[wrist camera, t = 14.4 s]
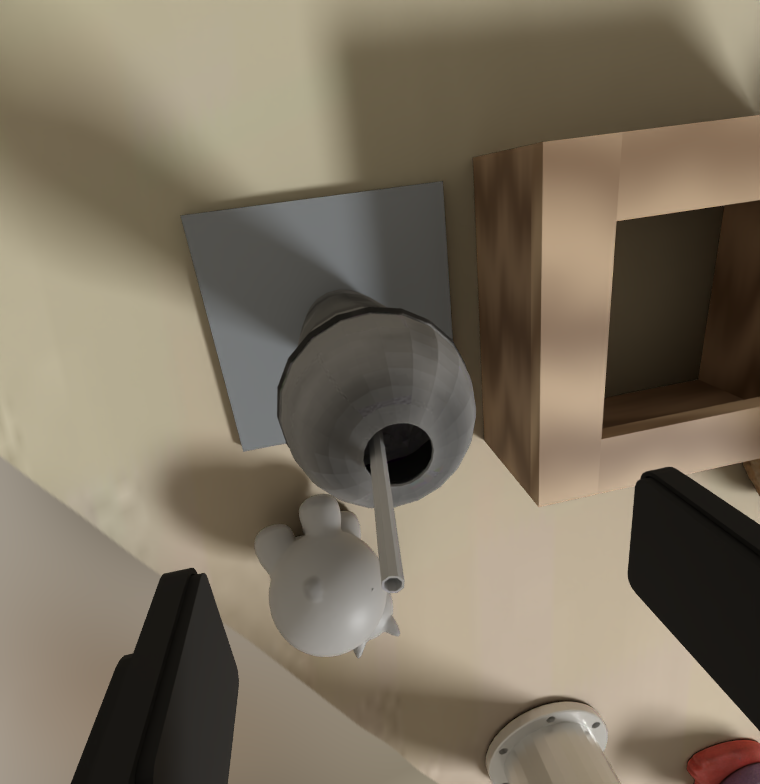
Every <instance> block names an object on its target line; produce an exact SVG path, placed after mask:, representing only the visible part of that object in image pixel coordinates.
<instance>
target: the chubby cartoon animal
mask: <svg viewBox="0 0 760 784" xmlns="http://www.w3.org/2000/svg"><path fill="white" fill-rule="evenodd" d="M299 518H300V522H301V524H302V527H303V533H304V534H305V535H304V536H298V537H294V534H293V532H292V530H291V529H290V527H288V526H287V525H284V524H276V525H271V526H268V527H266V528H264V529H262V530H261V531H260V532H259V533H258V534H257V536H256V538H255V552H256V555H257V557H258V559H259V561H260V563H261V565H262V566H263V567H264V569H265V570H266V571H267V572H268V574H269V575H270V578H271V582H270V588H269V605H270V611H271V615H272V618H273V620H274V623H275V625H276V627H277V629H278V630H279V632H280V633H281V635H282V636H283V637H284V638H285V639H286V640H287V641H288V642H289V643H290V644H291V645H292V646H293V647H295V648H296V649H298V650H300V651H302V652H304V653H307V654H309V655H314V656H319V657H332V656H338V655H341V654H344V653H347V652H349V651H351V650H354V653H355V655H356V657H357V658H360V657H361V655H362V653H363V650H364V647H365V644H366V643H367V641H369V640H371V639H374V638H376V637H378V636H379V635H380V634H382V633H383V632H387V633H389V634H391V635H394V636H399V635H400V631H399V628H398V625H397V623H396V621H395V619H394V618H393V616H392V614H393V601H392V597H391V594H390V593H387V592H386V591H385V590H383V589H382V585H381V574H380V564H379V559H378V557H377V555H376V554H375V553H374V551H373V550H372V549H371V548H370V547H369V546H368V545H367V544H366V543H365V542H364V541H362V540H361V531H360V524H359V521H358V518H357V517H356V515H355V514H354V513H353V512H350V511H340V508H339V505H338V502H337V500H336V499H335V498H334V497H333V496H331V495H327V494H320V495H315V496H311V497H309V498H308V499H306V500H305V501H304V502H303V503H302V504H301V506H300V508H299Z"/></svg>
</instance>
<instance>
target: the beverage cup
mask: <svg viewBox="0 0 760 784" xmlns="http://www.w3.org/2000/svg"><path fill="white" fill-rule="evenodd" d="M277 418H278V421H279V424H280V427H281V429H282V432H283V435H284V438H285V441H286V444H287V445H288V447H289V448H290V451H291V453H292V455H293V457H294V459H295V461H296V462H297V463H298V465H299V466H300V467H301V468H302V469H303V471H304V472H305V473H306V474H307V476H308V477H309V478H310V479H311V481H312V482H313V483H315V484H316V485H317V486H318V487H320V488H321V489H323V490H324V491H326V492H328V493H329V494H331V495H333V496H334V497H336V498H337V499H339V500H341V501H344V502H347V503H351V504H355V505H359V506H363V507H367V508H374V510H375V521H376V532H377V542H378V553H379V564H380V574H381V585H382V589H383V590H385V591H386V592H387V593H397V592H399V591H400V590H401V589H403V588H404V575H403V568H402V562H401V555H400V548H399V541H398V534H397V527H396V520H395V514H394V507H397V506H401V505H404V504H407V503H411V502H414V501H417V500H420V499H421V498H423V497H425V496H426V495H428V494H429V493H431V492H433V491H434V490H436V489H438V488H439V487H441V486H442V485H443V484H444V483H445V481H446V480H447V479H448V478H449V477H450V476H451V475H452V474H453V473H454V472H455V471H456V470H457V469H458V467H459V465H460V463H461V461H462V459H463V457H464V456H465V454H466V452H467V450H468V448H469V446H470V443H471V441H472V435H473V429H474V424H475V418H476V405H475V399H474V393H473V386H472V381H471V378H470V375H469V373H468V371H467V369H466V365H465V363H464V361H463V359H462V357H461V355H460V353H459V352H458V350H457V348H456V346H455V344H454V342H453V341H452V339H451V338H450V337H449V336H448V335H446V334H445V333H444V332H443V331H442V330H441V329H440V328H438V327H437V326H436V325H435V324H434V323H433V322H432V321H431V320H429V319H427V318H424V317H422V316H419V315H417V314H414V313H412V312H409V311H407V310H404V309H402V308H388V307H386V306H384V305H382V304H381V303H379V302H377V301H375V300H374V299H372V298H370V297H368V296H366V295H363V294H361V293H358V292H355V291H352V290H340V289H339V290H335V291H331V292H328V293H326V294H324V295H323V296H321V297H320V298H318V299H317V300H316V301H315V302H314V303H313V305H312V306H311V307H310V308H309V311H308V313H307V315H306V317H305V320H304V323H303V326H302V330H301V334H300V338H299V342H298V347H297V348H296V349H295V350H294V352H293V353H292V354H291V355H290V357H289V358H288V360H287V363H286V365H285V368H284V371H283V373H282V376H281V379H280V381H279V384H278V387H277Z"/></svg>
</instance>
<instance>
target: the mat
mask: <svg viewBox="0 0 760 784" xmlns="http://www.w3.org/2000/svg"><path fill="white" fill-rule="evenodd" d="M181 219H182V223H183V227H184V231H185V234H186V238H187V242H188V246H189V249H190V253H191V257H192V261H193V264H194V268H195V272H196V276H197V279H198V283H199V287H200V291H201V294H202V298H203V302H204V306H205V309H206V313H207V317H208V321H209V324H210V328H211V332H212V336H213V339H214V343H215V347H216V351H217V354H218V358H219V362H220V366H221V369H222V373H223V377H224V381H225V384H226V388H227V392H228V396H229V399H230V403H231V407H232V411H233V414H234V418H235V422H236V426H237V429H238V433H239V437H240V441H241V444H242V448H243V452H244V451H249V450H254V449H259V448H264V447H270V446H275V445H280V444H285V443H286V441H285V438H284V435H283V432H282V429H281V427H280V424H279V421H278V418H277V387H278V384H279V381H280V379H281V376H282V373H283V371H284V368H285V365H286V363H287V360H288V358H289V357H290V355H291V354H292V353H293V352H294V350H295V349H296V348H297V347H298V342H299V338H300V334H301V330H302V326H303V323H304V320H305V317H306V315H307V313H308V311H309V308H310V307H311V306H312V305H313V303H314V302H315V301H316V300H317V299H318V298H320V297H321V296H323V295H324V294H326V293H328V292H331V291H335V290H339V289H340V290H352V291H355V292H358V293H361V294H363V295H366V296H368V297H370V298H372V299H374V300H375V301H377V302H379V303H381V304H382V305H384V306H386V307H388V308H402V309H404V310H407V311H409V312H412V313H414V314H417V315H419V316H422V317H424V318H427V319H429V320H431V321H432V322H433V323H434V324H435V325H436V326H437V327H438V328H440V329H441V330H442V331H443V332H444V333H445V334H446V335H448V336H449V337H450V338H451V339H452V341H453V336H452V320H451V304H450V288H449V272H448V256H447V240H446V225H445V209H444V193H443V181H440V182H432V183H425V184H417V185H409V186H402V187H394V188H387V189H379V190H371V191H364V192H356V193H349V194H341V195H333V196H326V197H318V198H311V199H303V200H295V201H288V202H280V203H273V204H265V205H257V206H250V207H242V208H235V209H227V210H219V211H212V212H204V213H197V214H189V215H182V216H181Z"/></svg>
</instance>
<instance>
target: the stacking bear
mask: <svg viewBox="0 0 760 784" xmlns="http://www.w3.org/2000/svg"><path fill="white" fill-rule="evenodd" d="M687 771H688V772H689V774H690V775H691V776H692V777H693V778H694V779H695V783H694V784H760V743H758V742H756V741H751V740H736V741H729V742H724V743H720V744H717V745H714V746H711V747H709V748H706V749H704V750H702V751H699V752H698V753H696V754H695V755H693V757H692V758H691V759H690V760H689V761H688V765H687Z"/></svg>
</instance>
